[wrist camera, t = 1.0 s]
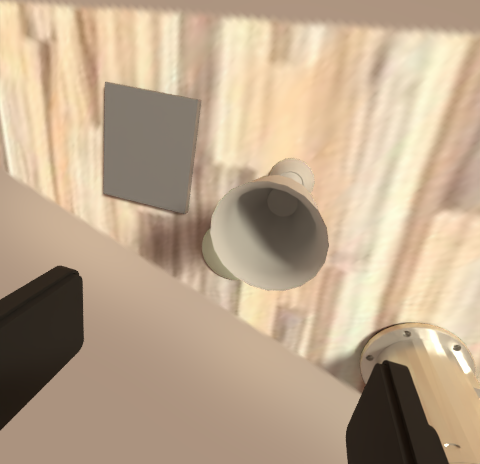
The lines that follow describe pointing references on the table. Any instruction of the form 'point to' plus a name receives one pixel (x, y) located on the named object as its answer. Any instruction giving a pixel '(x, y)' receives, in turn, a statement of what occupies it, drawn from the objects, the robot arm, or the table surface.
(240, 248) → the chalice
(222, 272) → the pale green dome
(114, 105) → the slate board
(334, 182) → the table surface
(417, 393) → the robot arm
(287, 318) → the table surface
